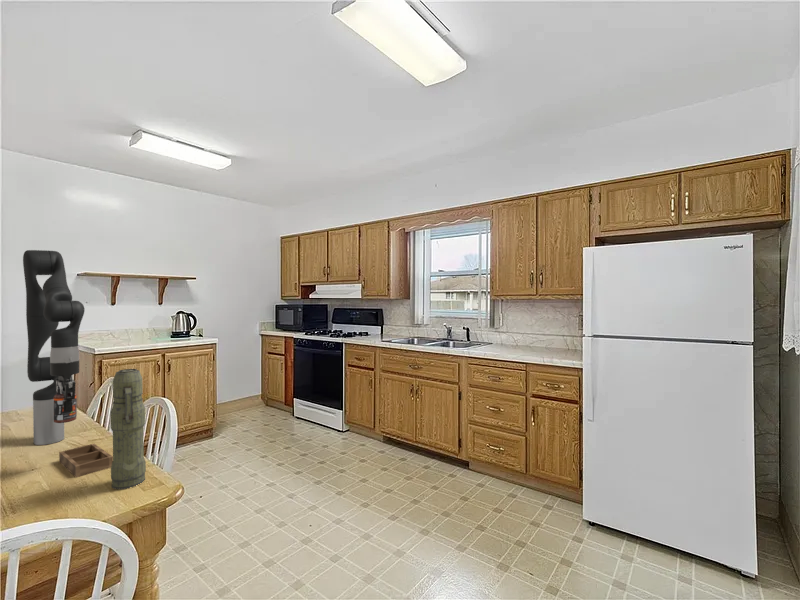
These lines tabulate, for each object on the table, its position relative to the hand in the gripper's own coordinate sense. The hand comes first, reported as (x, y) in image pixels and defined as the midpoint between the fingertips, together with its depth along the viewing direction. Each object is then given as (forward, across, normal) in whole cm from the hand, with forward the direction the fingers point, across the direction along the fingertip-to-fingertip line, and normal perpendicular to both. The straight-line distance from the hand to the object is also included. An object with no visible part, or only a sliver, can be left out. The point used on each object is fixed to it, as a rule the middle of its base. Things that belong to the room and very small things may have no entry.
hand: (65, 410), depth 136 cm
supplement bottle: (+4, 0, 0) cm, 4 cm away
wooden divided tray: (+19, +1, +5) cm, 20 cm away
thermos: (+20, +28, +10) cm, 36 cm away
